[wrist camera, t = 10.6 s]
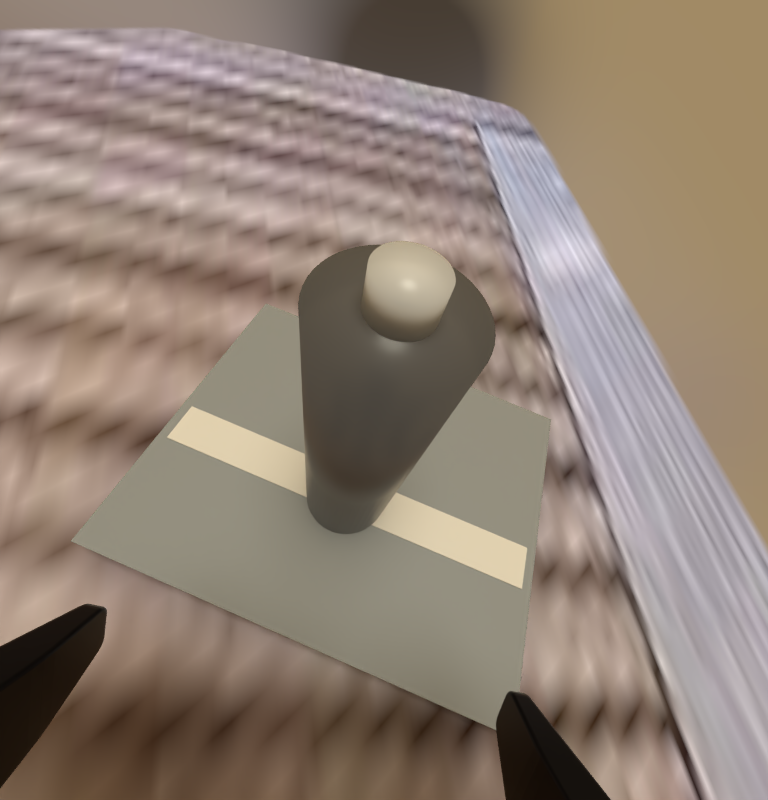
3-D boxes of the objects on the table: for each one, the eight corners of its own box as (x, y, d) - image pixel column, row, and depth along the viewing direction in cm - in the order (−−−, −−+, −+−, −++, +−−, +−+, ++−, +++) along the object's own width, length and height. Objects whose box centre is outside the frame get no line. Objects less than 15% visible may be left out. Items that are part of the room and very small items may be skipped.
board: (497, 728, 16) (515, 738, 14) (88, 547, 17) (69, 540, 15) (538, 429, 24) (551, 418, 23) (268, 319, 25) (265, 302, 24)
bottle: (396, 519, 18) (560, 340, 6) (317, 545, 17) (333, 386, 5) (371, 447, 20) (461, 198, 8) (298, 466, 19) (274, 206, 7)
